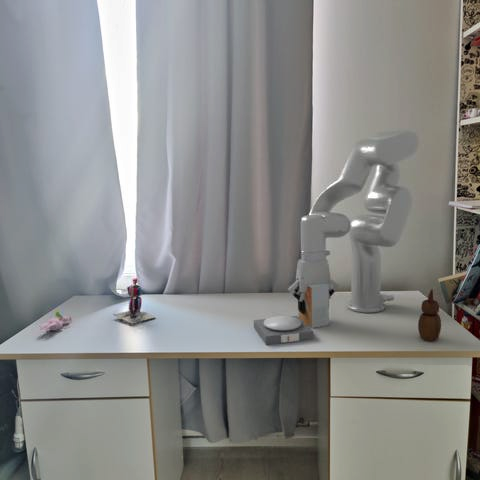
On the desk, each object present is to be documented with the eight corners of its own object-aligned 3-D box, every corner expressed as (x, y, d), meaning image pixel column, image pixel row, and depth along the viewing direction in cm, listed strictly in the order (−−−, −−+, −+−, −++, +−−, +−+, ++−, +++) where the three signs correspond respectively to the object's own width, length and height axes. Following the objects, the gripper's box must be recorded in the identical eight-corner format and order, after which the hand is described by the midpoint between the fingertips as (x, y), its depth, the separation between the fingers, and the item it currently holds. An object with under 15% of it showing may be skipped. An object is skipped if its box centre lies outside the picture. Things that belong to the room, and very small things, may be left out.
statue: (155, 322, 163) (156, 279, 159) (131, 329, 156) (132, 285, 153) (136, 311, 170) (136, 270, 167) (112, 318, 164) (112, 275, 160)
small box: (298, 320, 157) (297, 280, 154) (315, 317, 159) (315, 278, 157) (311, 328, 149) (311, 287, 147) (329, 325, 152) (329, 284, 149)
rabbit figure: (58, 325, 163) (33, 335, 148) (58, 307, 163) (33, 315, 148) (76, 325, 162) (53, 335, 148) (76, 307, 162) (52, 315, 147)
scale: (297, 323, 154) (297, 312, 153) (314, 340, 140) (314, 328, 139) (254, 327, 151) (253, 317, 151) (266, 345, 137) (266, 333, 136)
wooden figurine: (437, 345, 134) (439, 291, 131) (415, 341, 137) (417, 289, 134) (442, 336, 139) (444, 285, 137) (421, 333, 143) (422, 283, 140)
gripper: (335, 251, 156) (334, 305, 159) (282, 255, 152) (283, 310, 155) (344, 256, 148) (344, 312, 152) (289, 260, 145) (290, 318, 148)
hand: (313, 311), depth 153 cm, fingers closed on small box, 7 cm apart
